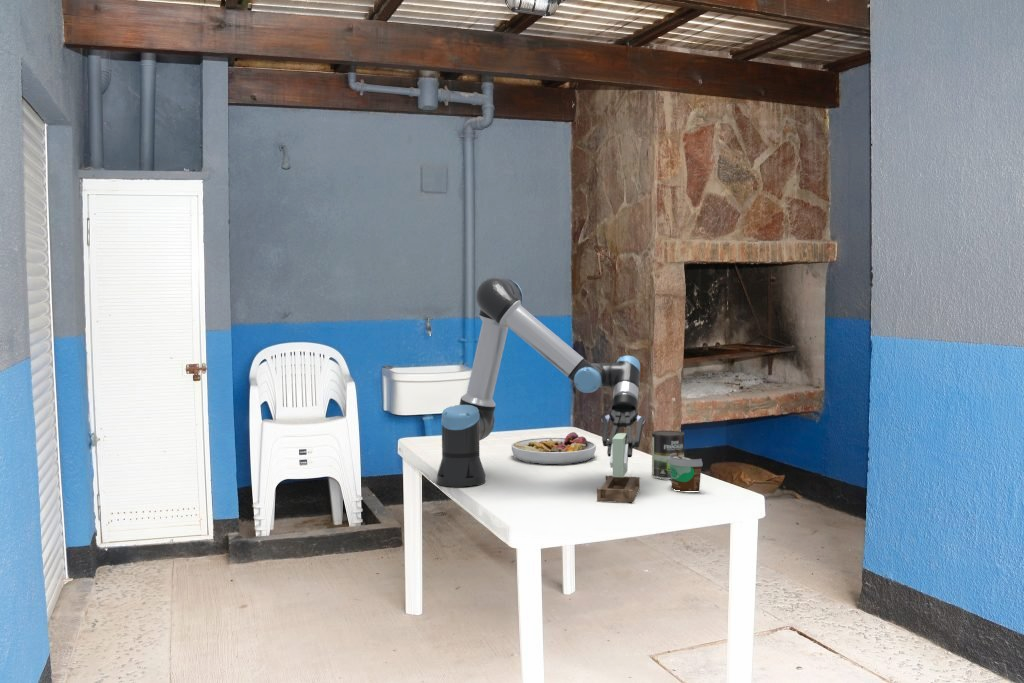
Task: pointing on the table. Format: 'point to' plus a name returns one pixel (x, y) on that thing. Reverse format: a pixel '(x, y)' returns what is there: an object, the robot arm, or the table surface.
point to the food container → (685, 473)
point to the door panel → (619, 454)
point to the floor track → (619, 489)
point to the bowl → (554, 450)
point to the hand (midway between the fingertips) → (618, 465)
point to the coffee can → (665, 451)
